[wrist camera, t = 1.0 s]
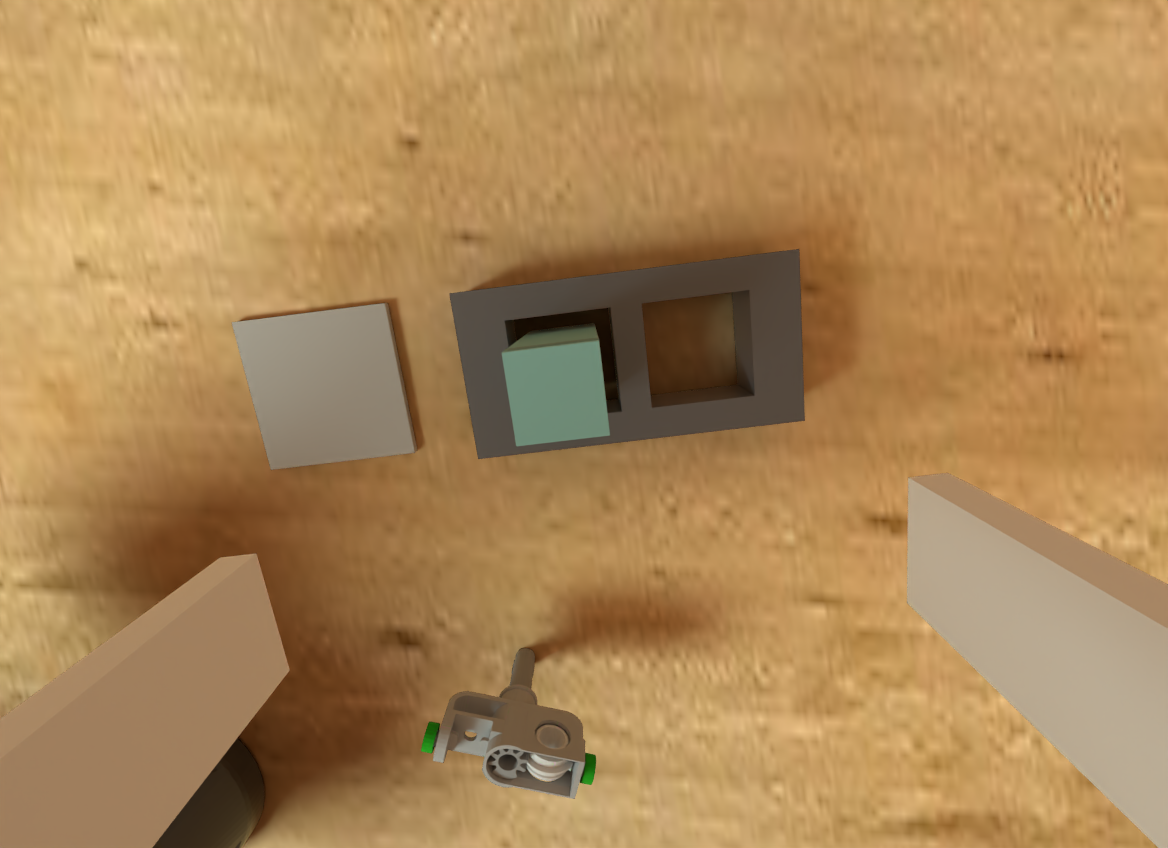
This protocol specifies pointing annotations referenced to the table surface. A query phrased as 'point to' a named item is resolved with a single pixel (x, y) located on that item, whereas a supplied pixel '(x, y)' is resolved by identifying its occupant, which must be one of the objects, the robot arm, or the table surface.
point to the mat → (326, 386)
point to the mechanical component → (516, 736)
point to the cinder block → (760, 334)
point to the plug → (556, 385)
